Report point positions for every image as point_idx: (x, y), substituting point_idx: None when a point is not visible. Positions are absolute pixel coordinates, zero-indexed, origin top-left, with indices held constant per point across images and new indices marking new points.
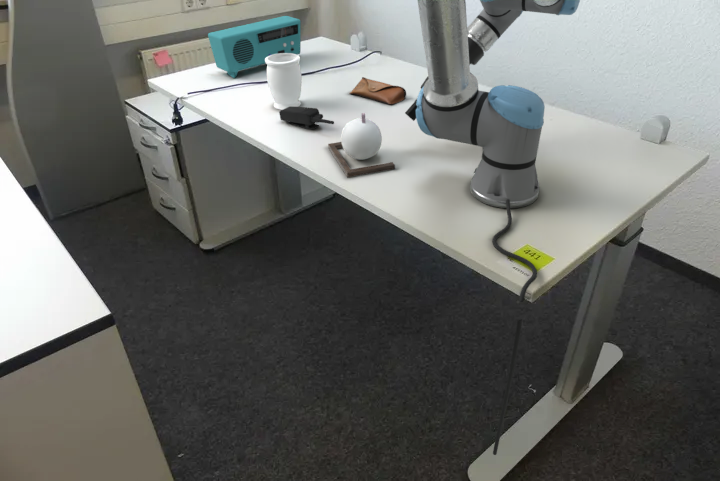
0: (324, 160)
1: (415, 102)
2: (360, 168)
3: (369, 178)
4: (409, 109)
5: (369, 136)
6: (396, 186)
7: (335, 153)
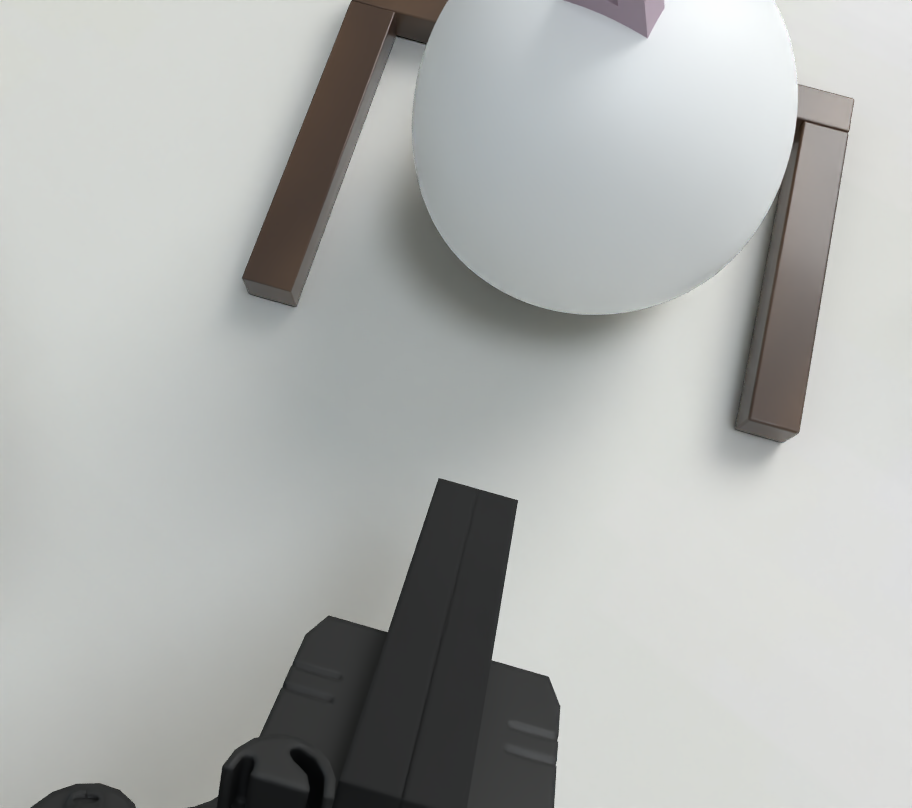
0: None
1: (456, 632)
2: (362, 64)
3: (259, 89)
4: (475, 538)
5: (436, 44)
6: (42, 157)
7: None
